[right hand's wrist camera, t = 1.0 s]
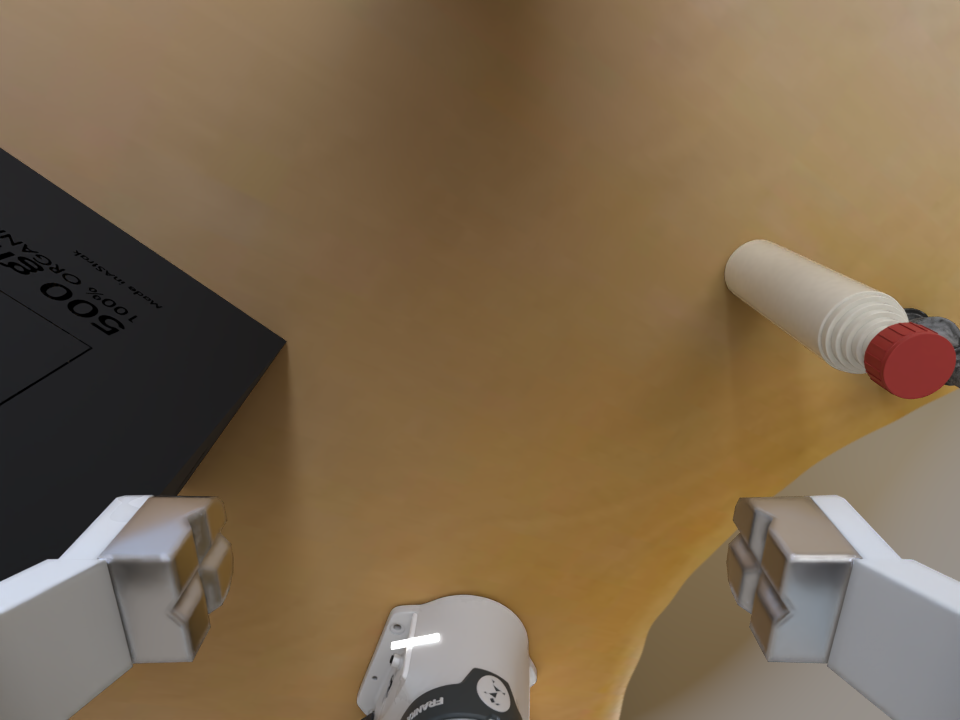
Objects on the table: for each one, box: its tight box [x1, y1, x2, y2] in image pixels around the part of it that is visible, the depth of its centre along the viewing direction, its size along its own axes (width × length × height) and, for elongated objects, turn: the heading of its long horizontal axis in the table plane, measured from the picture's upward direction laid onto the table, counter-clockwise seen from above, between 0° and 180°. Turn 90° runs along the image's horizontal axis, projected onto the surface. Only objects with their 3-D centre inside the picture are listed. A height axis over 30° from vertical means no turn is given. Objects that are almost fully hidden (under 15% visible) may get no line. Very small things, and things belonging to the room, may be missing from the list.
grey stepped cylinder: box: [904, 308, 960, 388], centre depth 54 cm, size 6×6×12 cm
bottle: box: [725, 240, 909, 374], centre depth 47 cm, size 6×6×23 cm
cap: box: [864, 322, 956, 399], centre depth 37 cm, size 4×4×2 cm
